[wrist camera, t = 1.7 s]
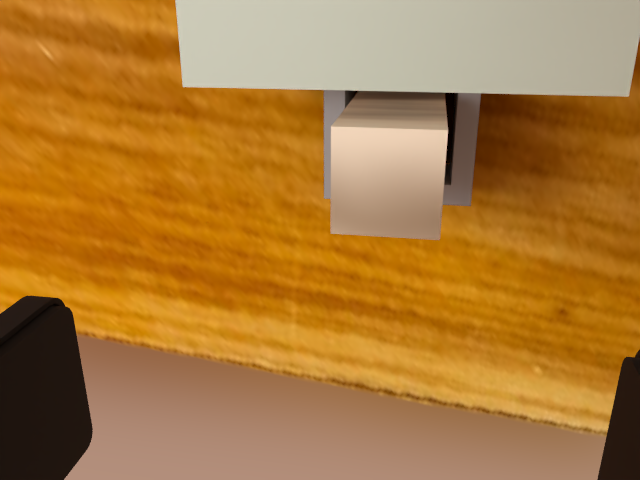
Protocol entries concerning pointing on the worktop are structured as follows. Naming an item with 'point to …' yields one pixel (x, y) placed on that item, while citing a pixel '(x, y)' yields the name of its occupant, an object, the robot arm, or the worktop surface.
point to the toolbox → (461, 143)
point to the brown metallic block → (389, 165)
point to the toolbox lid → (411, 45)
